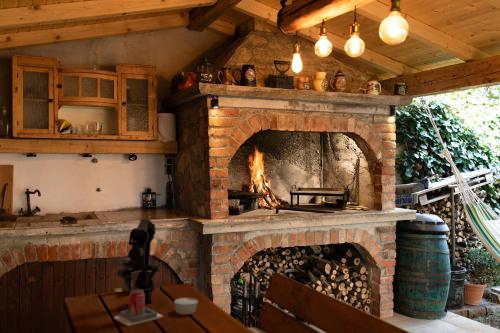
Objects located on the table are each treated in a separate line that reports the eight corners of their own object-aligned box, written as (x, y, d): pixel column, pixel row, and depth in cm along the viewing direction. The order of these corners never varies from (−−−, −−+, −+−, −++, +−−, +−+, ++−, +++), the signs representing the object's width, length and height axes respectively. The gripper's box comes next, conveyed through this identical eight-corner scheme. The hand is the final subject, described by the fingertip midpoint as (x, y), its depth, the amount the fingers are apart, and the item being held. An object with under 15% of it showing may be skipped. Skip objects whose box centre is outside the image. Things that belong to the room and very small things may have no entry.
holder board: (148, 310, 222) (148, 304, 222) (163, 317, 213) (163, 311, 213) (113, 318, 210) (114, 312, 210) (127, 326, 201) (128, 320, 201)
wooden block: (138, 293, 250) (138, 260, 250) (121, 291, 254) (122, 258, 254) (141, 291, 254) (142, 259, 254) (125, 289, 258) (126, 257, 257)
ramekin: (201, 310, 225) (201, 299, 225) (189, 317, 215) (189, 305, 215) (182, 306, 229) (182, 296, 229) (169, 313, 219) (169, 302, 219)
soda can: (130, 314, 214) (130, 288, 214) (145, 313, 215) (146, 288, 215) (127, 319, 207) (128, 293, 207) (143, 319, 208) (143, 292, 208)
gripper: (146, 250, 227) (146, 281, 227) (111, 255, 214) (111, 288, 214) (159, 254, 219) (158, 286, 219) (123, 259, 206) (123, 294, 206)
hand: (138, 288), depth 215 cm, fingers open, 9 cm apart
